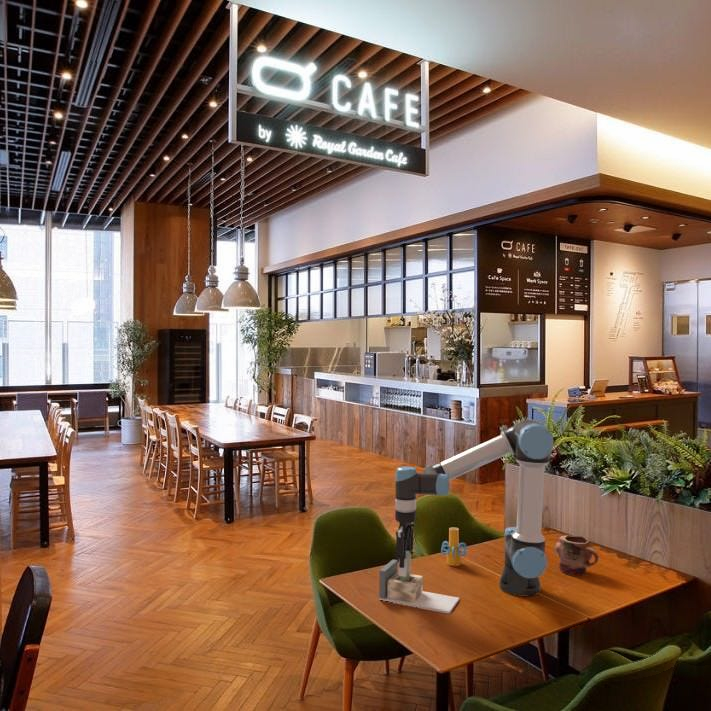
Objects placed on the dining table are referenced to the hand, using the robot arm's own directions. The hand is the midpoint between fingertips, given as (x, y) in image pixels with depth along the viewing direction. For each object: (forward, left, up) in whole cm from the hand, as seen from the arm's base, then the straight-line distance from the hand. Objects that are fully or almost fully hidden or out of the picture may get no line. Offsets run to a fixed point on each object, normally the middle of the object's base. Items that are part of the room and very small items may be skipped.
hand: (404, 573), depth 224 cm
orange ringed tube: (-7, -42, -9) cm, 43 cm away
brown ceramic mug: (-55, -54, -9) cm, 77 cm away
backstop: (-6, 0, -9) cm, 10 cm away
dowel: (0, 0, -4) cm, 4 cm away
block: (0, 0, -9) cm, 9 cm away
